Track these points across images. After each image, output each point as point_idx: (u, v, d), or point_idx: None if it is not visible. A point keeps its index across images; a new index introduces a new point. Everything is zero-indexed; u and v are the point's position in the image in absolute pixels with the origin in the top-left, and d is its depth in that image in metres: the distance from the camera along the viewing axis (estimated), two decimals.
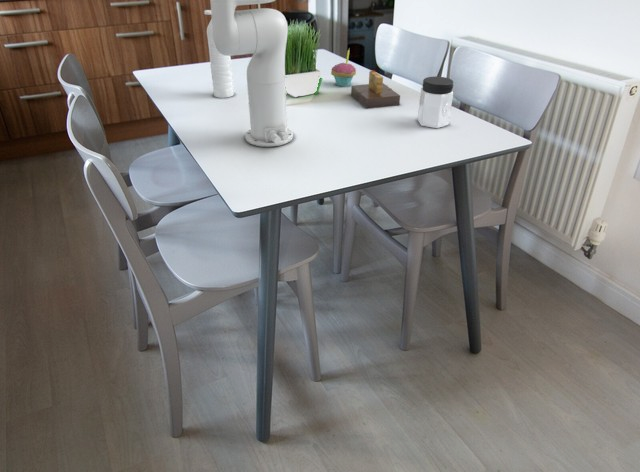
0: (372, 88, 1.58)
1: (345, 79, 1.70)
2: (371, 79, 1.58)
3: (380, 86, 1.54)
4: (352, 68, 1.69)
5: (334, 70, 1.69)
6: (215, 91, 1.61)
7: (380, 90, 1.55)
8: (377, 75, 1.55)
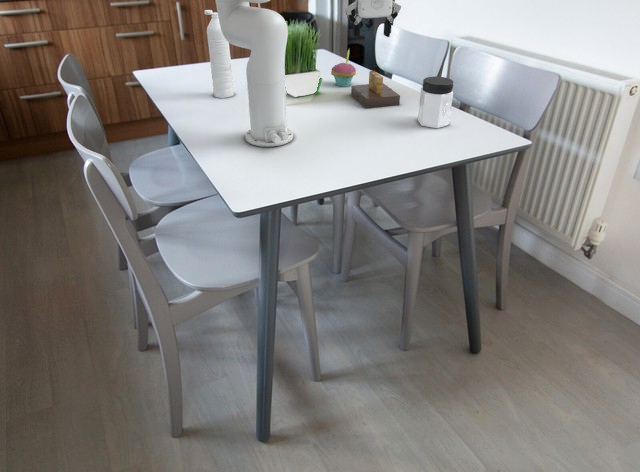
0: (372, 88, 1.58)
1: (345, 79, 1.70)
2: (371, 79, 1.58)
3: (380, 86, 1.54)
4: (352, 68, 1.69)
5: (334, 70, 1.69)
6: (215, 91, 1.61)
7: (380, 90, 1.55)
8: (377, 75, 1.55)
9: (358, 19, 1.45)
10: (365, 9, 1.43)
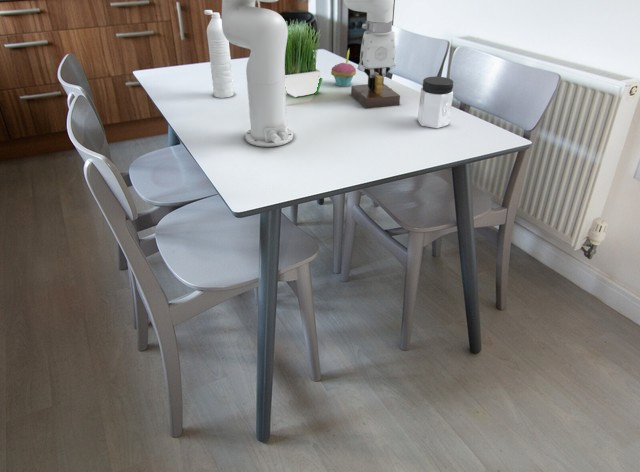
0: None
1: (345, 79, 1.70)
2: None
3: (380, 86, 1.54)
4: (352, 68, 1.69)
5: (334, 70, 1.69)
6: (215, 91, 1.61)
7: (380, 90, 1.55)
8: (377, 75, 1.55)
9: (371, 72, 1.53)
10: (369, 60, 1.50)
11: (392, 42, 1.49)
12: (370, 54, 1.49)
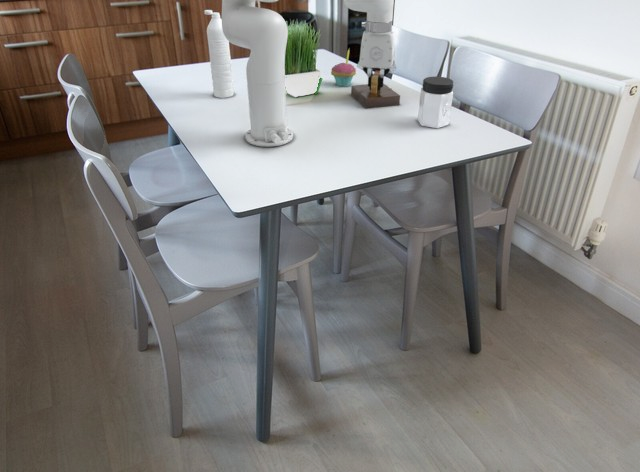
0: None
1: (345, 79, 1.70)
2: None
3: (374, 86, 1.54)
4: (352, 68, 1.69)
5: (334, 70, 1.69)
6: (215, 91, 1.61)
7: (374, 90, 1.55)
8: (375, 75, 1.55)
9: (368, 71, 1.54)
10: (364, 59, 1.51)
11: (388, 44, 1.48)
12: (365, 53, 1.50)
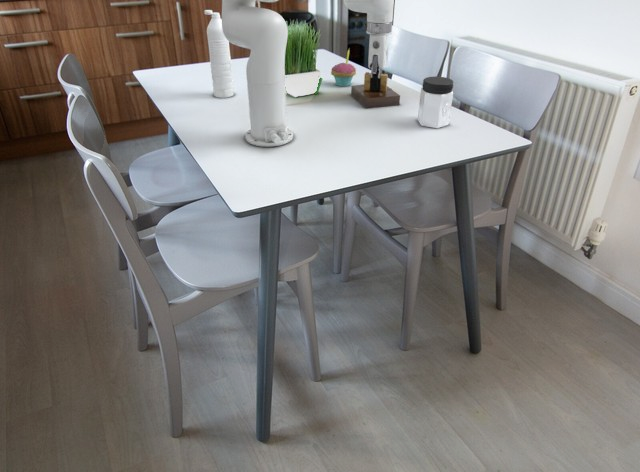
0: None
1: (345, 79, 1.70)
2: None
3: (386, 83, 1.57)
4: (352, 68, 1.69)
5: (334, 70, 1.69)
6: (215, 91, 1.61)
7: (386, 87, 1.57)
8: (380, 74, 1.55)
9: (379, 73, 1.53)
10: (384, 61, 1.50)
11: None
12: (385, 55, 1.49)
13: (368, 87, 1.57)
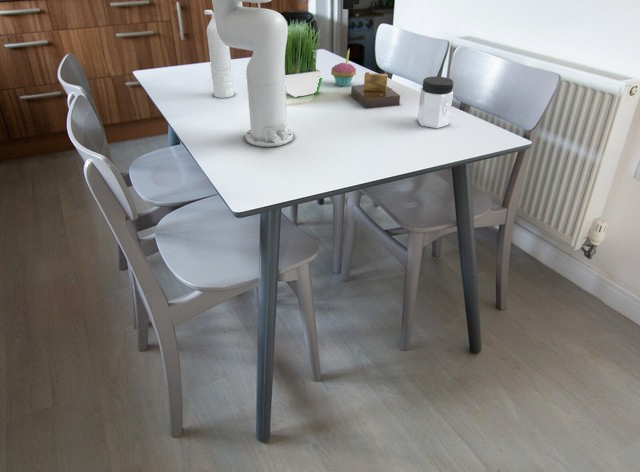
0: (374, 89, 1.57)
1: (345, 79, 1.70)
2: (371, 80, 1.56)
3: (386, 83, 1.57)
4: (352, 68, 1.69)
5: (334, 70, 1.69)
6: (215, 91, 1.61)
7: (386, 87, 1.57)
8: (380, 74, 1.55)
9: None
10: None
11: None
12: None
13: (368, 87, 1.57)
